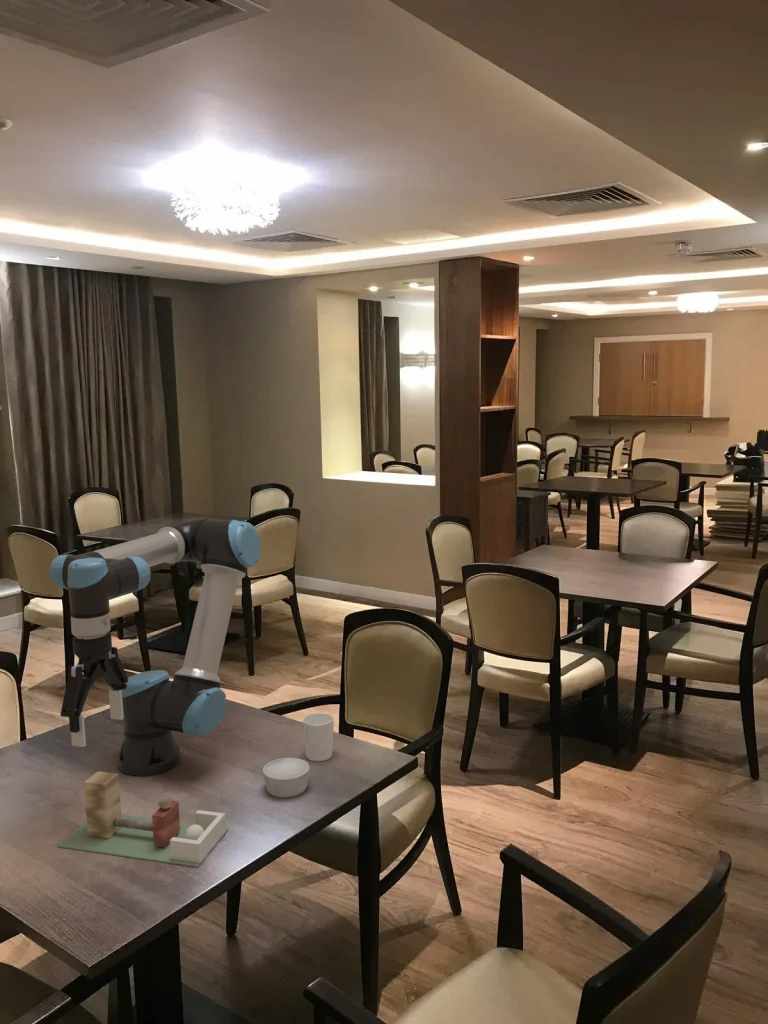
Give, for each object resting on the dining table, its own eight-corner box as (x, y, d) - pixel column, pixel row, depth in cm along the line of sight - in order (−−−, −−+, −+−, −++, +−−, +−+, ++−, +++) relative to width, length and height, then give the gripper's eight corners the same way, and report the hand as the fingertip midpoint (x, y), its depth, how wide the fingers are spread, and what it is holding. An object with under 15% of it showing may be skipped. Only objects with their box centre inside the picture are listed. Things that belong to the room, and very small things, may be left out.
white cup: (333, 762, 201) (332, 725, 200) (302, 762, 201) (301, 725, 200) (335, 748, 209) (334, 712, 208) (305, 749, 209) (304, 712, 208)
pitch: (57, 847, 165) (57, 845, 165) (97, 812, 178) (97, 811, 178) (197, 867, 157) (197, 865, 157) (228, 829, 171) (228, 828, 171)
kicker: (85, 837, 167) (81, 783, 166) (103, 821, 174) (99, 769, 172) (165, 848, 163) (161, 793, 161) (180, 831, 169) (177, 778, 167)
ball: (179, 831, 163) (196, 830, 162) (188, 821, 167) (205, 820, 166) (183, 849, 163) (200, 849, 162) (192, 839, 167) (209, 838, 166)
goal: (170, 858, 160) (169, 840, 159) (198, 827, 171) (197, 810, 171) (200, 863, 158) (199, 844, 158) (226, 831, 170) (225, 813, 169)
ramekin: (285, 773, 196) (284, 753, 195) (320, 785, 190) (319, 764, 189) (253, 791, 187) (252, 770, 186) (288, 805, 181) (287, 783, 180)
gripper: (70, 654, 151) (78, 759, 154) (140, 618, 175) (146, 710, 178) (35, 651, 153) (44, 756, 156) (110, 616, 177) (116, 707, 180)
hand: (98, 731), depth 167 cm, fingers open, 13 cm apart
